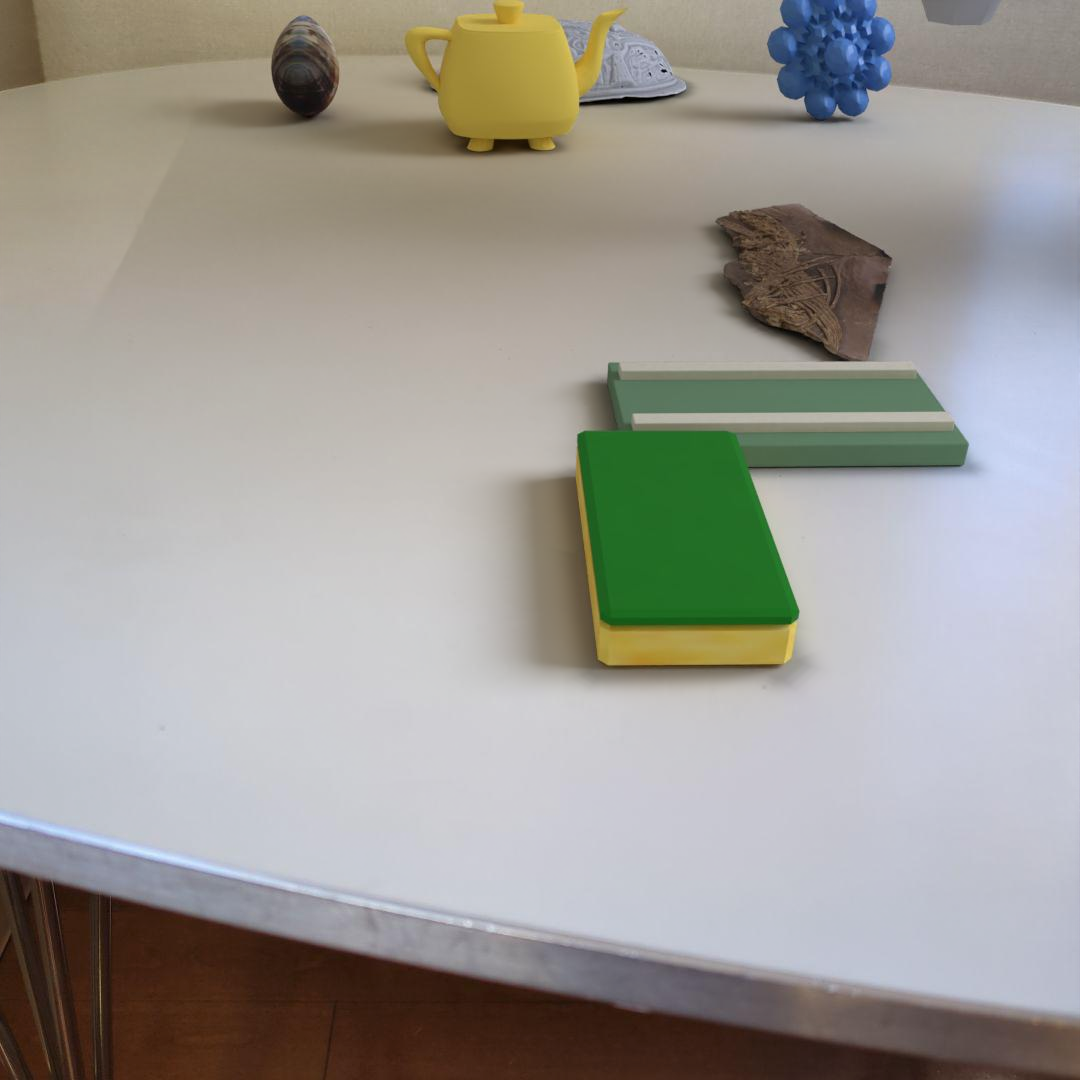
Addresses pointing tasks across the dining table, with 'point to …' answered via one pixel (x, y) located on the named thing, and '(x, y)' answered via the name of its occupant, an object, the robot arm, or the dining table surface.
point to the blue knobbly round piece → (831, 54)
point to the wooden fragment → (808, 276)
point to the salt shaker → (960, 11)
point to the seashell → (305, 67)
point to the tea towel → (794, 410)
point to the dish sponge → (680, 552)
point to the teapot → (510, 74)
